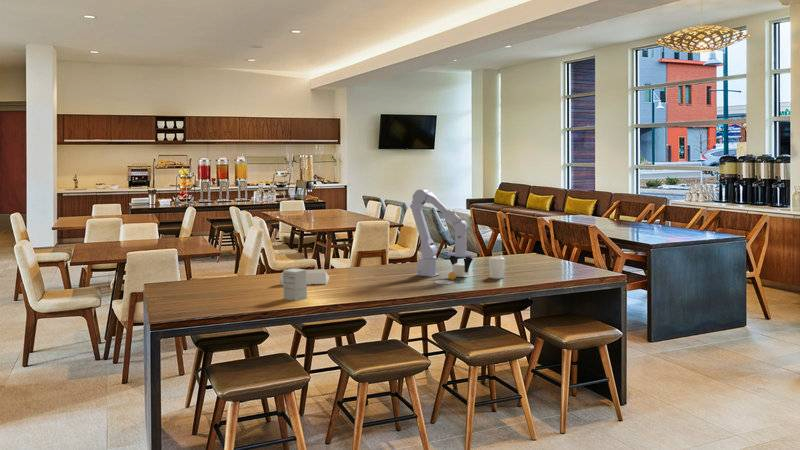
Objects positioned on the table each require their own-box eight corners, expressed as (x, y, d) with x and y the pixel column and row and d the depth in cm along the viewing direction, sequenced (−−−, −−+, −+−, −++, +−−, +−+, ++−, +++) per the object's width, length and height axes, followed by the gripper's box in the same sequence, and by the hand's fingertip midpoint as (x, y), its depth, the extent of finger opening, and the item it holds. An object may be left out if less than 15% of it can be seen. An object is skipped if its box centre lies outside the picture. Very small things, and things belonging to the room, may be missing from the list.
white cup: (504, 279, 355) (504, 259, 354) (488, 278, 357) (488, 258, 356) (505, 276, 363) (505, 256, 362) (489, 276, 364) (489, 256, 363)
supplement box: (294, 296, 318) (294, 267, 317) (307, 298, 314) (306, 269, 313) (283, 299, 312) (282, 270, 311) (295, 301, 308) (295, 271, 307)
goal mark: (429, 283, 346) (429, 282, 346) (440, 279, 355) (440, 279, 355) (447, 285, 341) (447, 284, 341) (457, 281, 349) (457, 281, 349)
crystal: (328, 273, 354) (278, 275, 349) (329, 268, 348) (278, 270, 343) (329, 287, 351) (279, 290, 346) (330, 282, 345) (279, 285, 340)
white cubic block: (452, 275, 361) (452, 264, 360) (458, 273, 365) (458, 262, 365) (462, 276, 357) (462, 265, 357) (468, 274, 362) (468, 263, 361)
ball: (446, 280, 354) (446, 272, 353) (450, 278, 357) (450, 271, 357) (453, 280, 352) (453, 273, 351) (457, 279, 355) (457, 271, 355)
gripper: (444, 244, 361) (444, 271, 362) (469, 246, 353) (469, 274, 354) (451, 243, 367) (451, 269, 368) (476, 245, 359) (476, 272, 360)
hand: (460, 271), depth 362 cm, fingers closed on white cubic block, 6 cm apart
